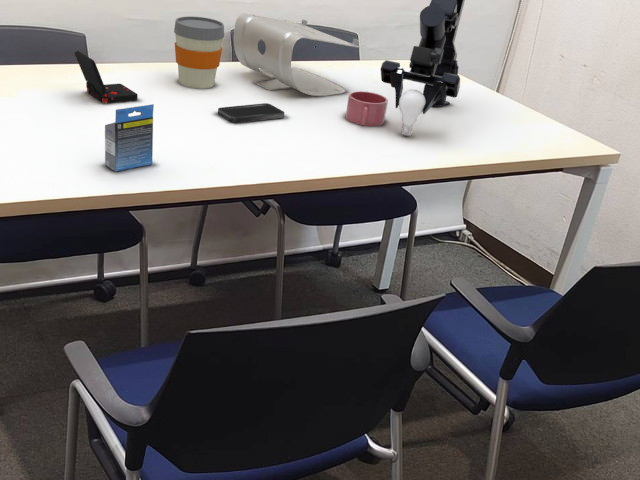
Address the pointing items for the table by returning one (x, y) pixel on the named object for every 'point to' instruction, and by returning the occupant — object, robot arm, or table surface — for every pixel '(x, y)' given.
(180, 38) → the reusable coffee cup
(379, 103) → the mug
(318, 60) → the table surface
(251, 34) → the beige plastic curved shell
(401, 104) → the lightbulb
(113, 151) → the blue upright rectangular box
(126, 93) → the handheld gaming console
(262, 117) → the phone
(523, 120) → the table surface
